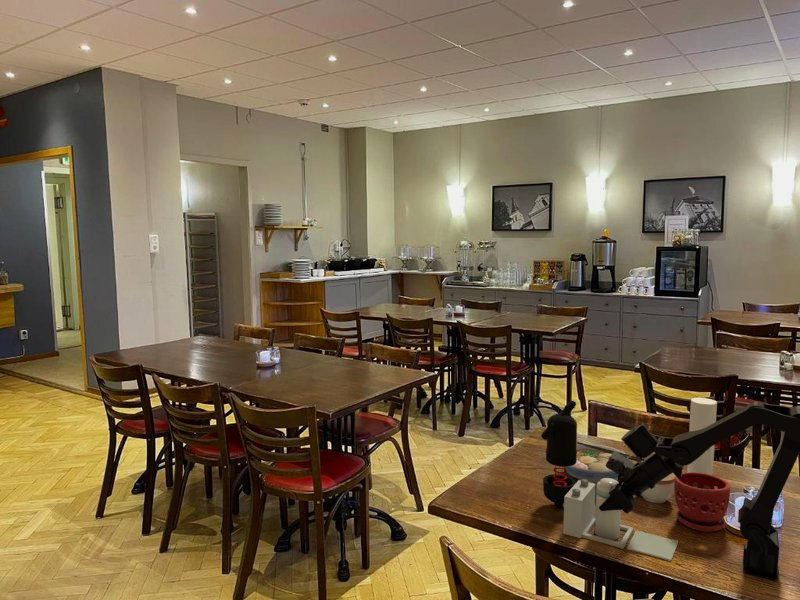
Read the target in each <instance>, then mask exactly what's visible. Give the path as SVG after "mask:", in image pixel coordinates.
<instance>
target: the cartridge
mask: <svg viewBox="0 0 800 600" xmlns="http://www.w3.org/2000/svg"><path fill="white" fill-rule="evenodd" d="M617 483H618V481H617V479H616V480H614V479H611V478H603V479H601V480H600V481H599V482H598V483H597V484H596V487H595V518H596V520H595V524H594V529H595V530H594V534H595V536H598V537H602V538H605V539H609V540H613V541H615V540H617V539H619V538H620V535H621V534H620V533H621V529H620V524H621V512H622V510H610V511H601V510H600V509H599V507H600V505H601V504H602V503H603V502H604V501H605V500H606V499H607V498H608V497H609V496H610V494H609V491H610V489H611V487H612V486H614V485H616V484H617ZM618 484H619V483H618Z"/></svg>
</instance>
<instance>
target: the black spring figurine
mask: <svg viewBox="0 0 800 600" xmlns="http://www.w3.org/2000/svg"><path fill="white" fill-rule="evenodd" d="M576 406H577V402H576V401H575V400H570V401H569V402H568V403H567V404H566V405H564V408H563V409H562V410H561V411H560V412H559V413H554V414H552V415H550V417H548V419H547V422H546V424H547V425H546V427H545V429H544V430H543V431H542V433H541V435H540V437H541V438H542V439H543V440H545V441H546V448H545V461H546V462H547V463H549V464H550V465H553V466H555V467H554V468H553V469H552V470H553V472H554V474H548V475H545V476H544V477H543V478H542V482H543V483H542V486H543V494H544V496H545V498H546V499H547V500H548V501H550V502H551V503H554V504H553V506H554V507H555V508H557V509H562V508H564V496H565V495H566V494H567V493H568V492H569V491H570V490H571V488H572V487H573V486H574V485H575V484H576V483H577V481H576V480H575V479H574V478H572V477H570V476H569V475H566V473H567V470H566V469H565V466H573V465H574V464H576V462H577V451H576V446H577V442H578V441H577V440H578V437H577V436H578V435H577V433H578V422H577V421H576V419H575V418H574V417H573V416H571V415H570V413H571V412H572V411H573V410H574V409H575V408H576ZM563 467H564V468H563ZM557 470H563V471H557Z"/></svg>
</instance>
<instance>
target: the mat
mask: <svg viewBox="0 0 800 600" xmlns="http://www.w3.org/2000/svg"><path fill="white" fill-rule="evenodd" d="M678 544H679V541H678V540H674V539H672V538H671V539H670V538H668V537H663V536H659V535H656V534H652V533H649V532H648V533H647V532H644V531H640V530H635V532H634V534H633V536H632V537H631V539H630V541H629V543H628V545H627V547H626V550H629V551H633V552H636V553H640V554H644V555H647V556H650V557H655V558H657V559H660V560H661V559H662V560H665V561H669V562H672V561H673V560H672V559H673V557H674V555H675V552H676V549H677V547H678Z"/></svg>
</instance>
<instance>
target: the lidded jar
mask: <svg viewBox="0 0 800 600" xmlns="http://www.w3.org/2000/svg"><path fill="white" fill-rule="evenodd" d="M674 483H675V475H674V473H671V474H670V475H668V476H667V477H665V478H664V479H662V480H661V481H659V482H658V483H656V485H655V487H654V488H652V489H651V488H649V489H647V490H646V491H644V492H643V493H642V495H641V497H642V498H643V500H645V501H646V502H649V503H653V504H663V503H665V502H666V501H668V500H669V499H670V498H671V497H672V495H674V492H675V491H674Z"/></svg>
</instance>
